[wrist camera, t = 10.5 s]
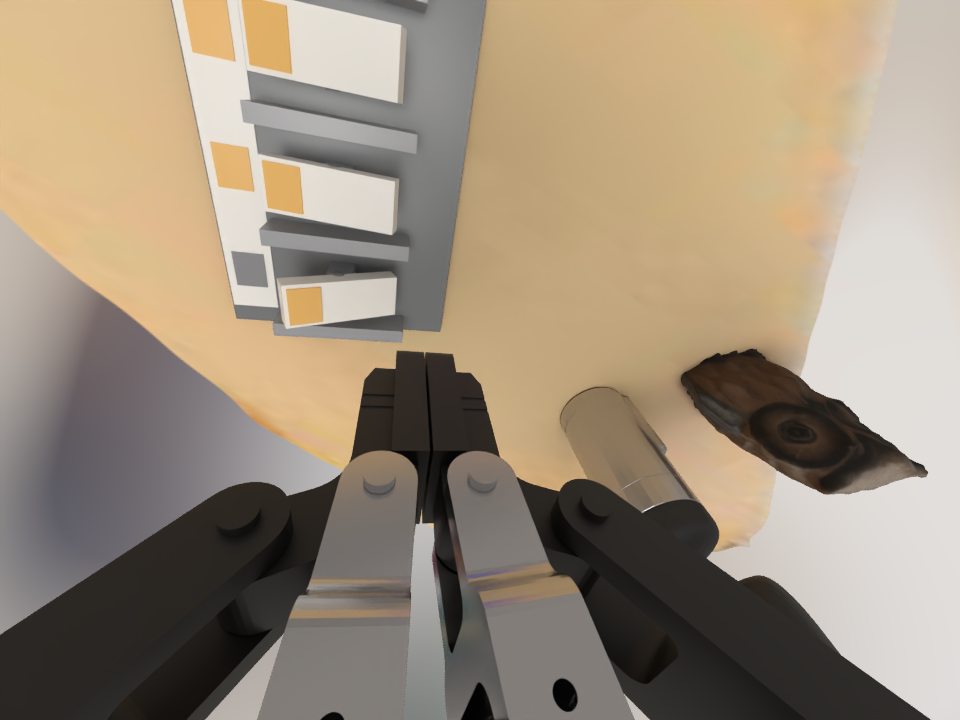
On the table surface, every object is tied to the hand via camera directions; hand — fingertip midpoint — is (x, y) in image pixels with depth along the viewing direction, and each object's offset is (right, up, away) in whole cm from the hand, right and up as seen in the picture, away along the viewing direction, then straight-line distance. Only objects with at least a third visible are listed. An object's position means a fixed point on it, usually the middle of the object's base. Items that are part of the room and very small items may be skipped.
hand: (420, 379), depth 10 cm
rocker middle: (-9, +13, +16) cm, 22 cm away
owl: (+36, -3, +43) cm, 56 cm away
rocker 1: (-7, +19, +12) cm, 24 cm away
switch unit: (-10, +15, +20) cm, 27 cm away
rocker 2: (-10, +6, +21) cm, 24 cm away
